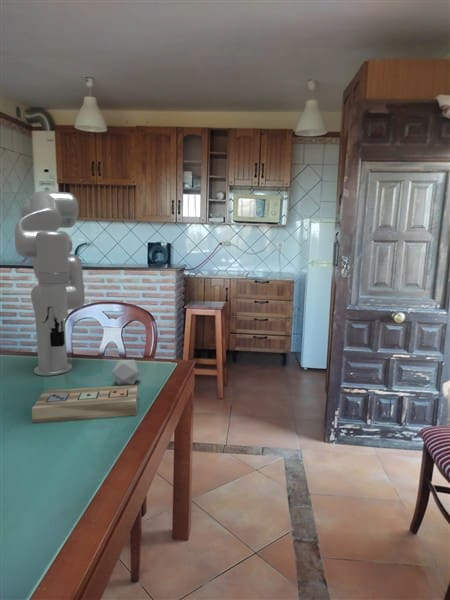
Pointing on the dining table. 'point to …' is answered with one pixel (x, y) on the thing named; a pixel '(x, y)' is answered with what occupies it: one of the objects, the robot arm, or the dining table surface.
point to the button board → (85, 404)
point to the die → (126, 372)
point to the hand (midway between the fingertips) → (57, 345)
